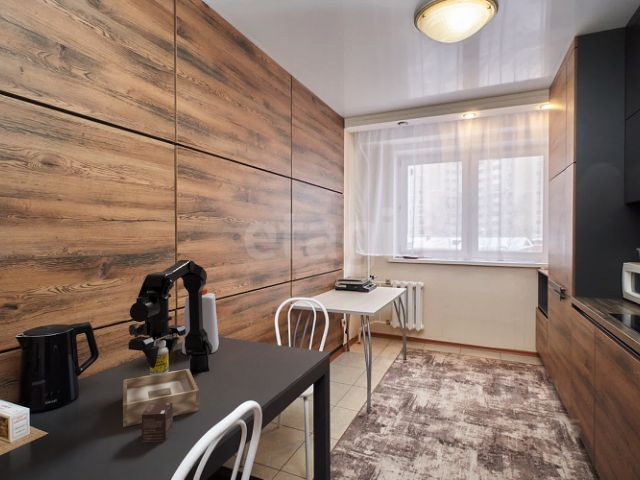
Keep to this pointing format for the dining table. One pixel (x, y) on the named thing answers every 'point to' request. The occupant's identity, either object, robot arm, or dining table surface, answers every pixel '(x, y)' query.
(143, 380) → the open box
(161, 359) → the supplement bottle
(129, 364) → the dining table surface
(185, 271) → the robot arm
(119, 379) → the dining table surface
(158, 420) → the box
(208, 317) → the plastic bottle
